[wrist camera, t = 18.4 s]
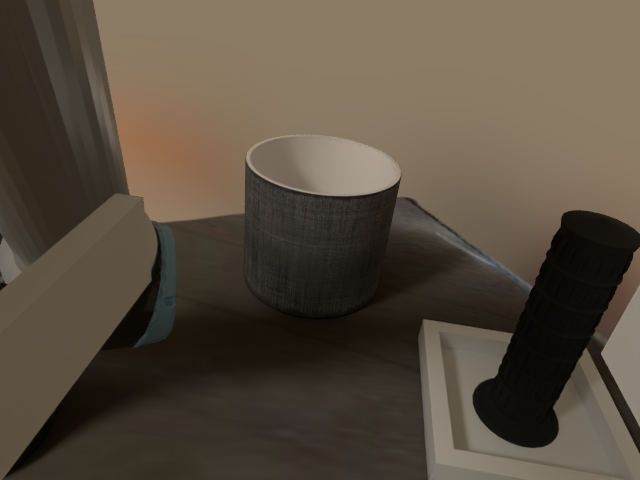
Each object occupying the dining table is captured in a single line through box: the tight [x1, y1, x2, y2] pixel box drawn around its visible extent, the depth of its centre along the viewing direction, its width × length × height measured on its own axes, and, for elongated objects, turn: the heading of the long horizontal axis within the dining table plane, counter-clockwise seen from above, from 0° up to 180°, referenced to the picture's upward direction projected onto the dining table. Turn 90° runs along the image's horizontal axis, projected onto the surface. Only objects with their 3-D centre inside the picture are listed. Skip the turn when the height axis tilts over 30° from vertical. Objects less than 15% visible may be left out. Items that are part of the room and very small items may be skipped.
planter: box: [244, 135, 402, 318], centre depth 73 cm, size 22×22×20 cm
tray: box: [418, 319, 640, 480], centre depth 56 cm, size 22×22×4 cm
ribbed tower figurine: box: [472, 210, 640, 448], centre depth 50 cm, size 10×26×10 cm
